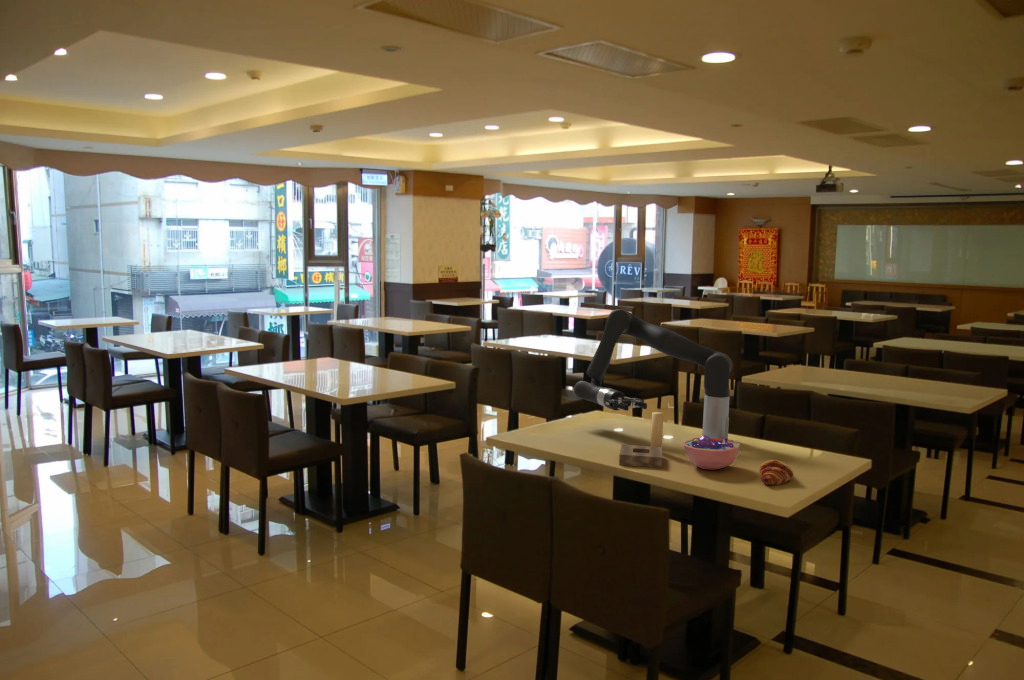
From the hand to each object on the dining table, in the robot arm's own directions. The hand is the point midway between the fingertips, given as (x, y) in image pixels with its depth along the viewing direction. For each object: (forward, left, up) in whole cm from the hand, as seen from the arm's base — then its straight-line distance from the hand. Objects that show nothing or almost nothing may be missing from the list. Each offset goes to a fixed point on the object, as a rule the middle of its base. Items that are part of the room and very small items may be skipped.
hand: (637, 407), depth 280 cm
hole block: (-2, +23, -14) cm, 27 cm away
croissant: (-45, +33, -14) cm, 58 cm away
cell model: (-25, +25, -14) cm, 38 cm away
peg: (-7, +9, -14) cm, 18 cm away
